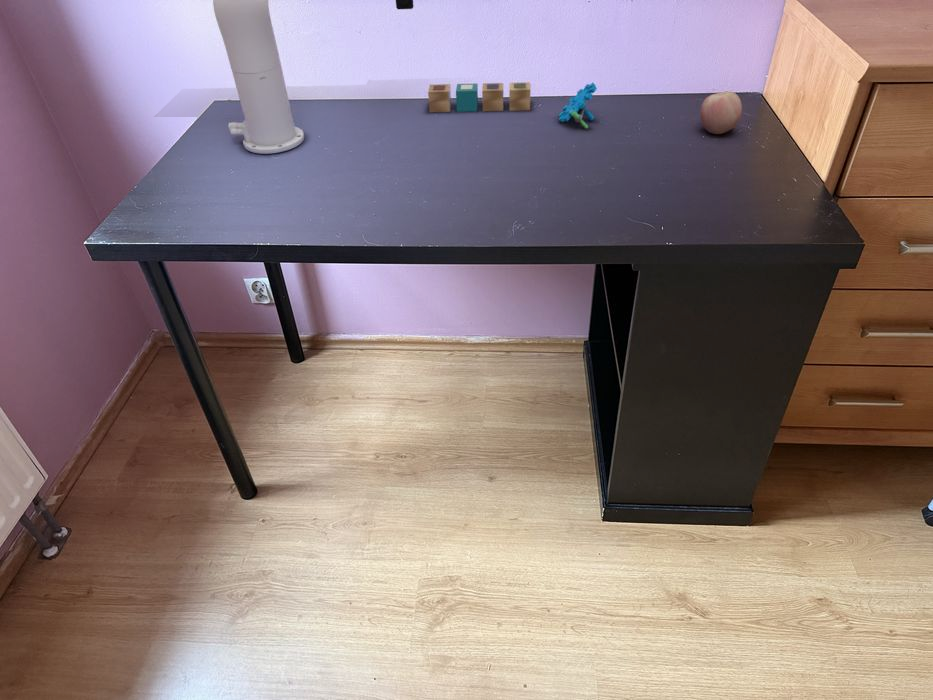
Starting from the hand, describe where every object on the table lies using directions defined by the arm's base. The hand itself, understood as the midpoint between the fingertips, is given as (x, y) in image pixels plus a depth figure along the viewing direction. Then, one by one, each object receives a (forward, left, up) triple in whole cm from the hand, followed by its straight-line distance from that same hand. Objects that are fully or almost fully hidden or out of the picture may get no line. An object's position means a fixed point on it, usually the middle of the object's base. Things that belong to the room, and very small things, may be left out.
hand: (408, 2), depth 128 cm
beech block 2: (+16, +9, -24) cm, 30 cm away
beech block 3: (+22, +9, -24) cm, 34 cm away
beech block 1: (+4, +9, -24) cm, 26 cm away
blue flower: (+34, 0, -24) cm, 42 cm away
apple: (+62, -7, -24) cm, 67 cm away
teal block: (+10, +9, -24) cm, 28 cm away
